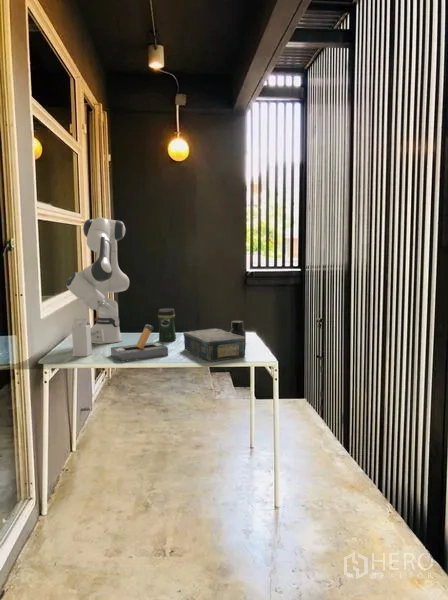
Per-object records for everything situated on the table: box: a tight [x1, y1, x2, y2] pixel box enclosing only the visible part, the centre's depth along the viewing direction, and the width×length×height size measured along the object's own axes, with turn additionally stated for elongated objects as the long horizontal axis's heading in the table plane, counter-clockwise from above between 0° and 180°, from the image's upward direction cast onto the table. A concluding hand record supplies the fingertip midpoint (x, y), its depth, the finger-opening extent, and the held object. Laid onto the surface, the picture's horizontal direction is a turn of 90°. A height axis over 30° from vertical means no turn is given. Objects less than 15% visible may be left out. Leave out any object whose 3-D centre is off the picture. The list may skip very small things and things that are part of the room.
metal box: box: [182, 328, 247, 363], centre depth 240 cm, size 21×32×10 cm, turn 26°
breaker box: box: [110, 341, 169, 362], centre depth 237 cm, size 24×16×4 cm, turn 121°
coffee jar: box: [157, 308, 177, 342], centre depth 274 cm, size 10×8×19 cm
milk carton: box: [71, 317, 93, 357], centre depth 239 cm, size 7×7×19 cm
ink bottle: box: [229, 320, 247, 338], centre depth 264 cm, size 10×9×12 cm
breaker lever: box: [135, 324, 155, 349], centre depth 238 cm, size 3×6×12 cm, turn 32°
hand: (116, 319), depth 230 cm, fingers closed
